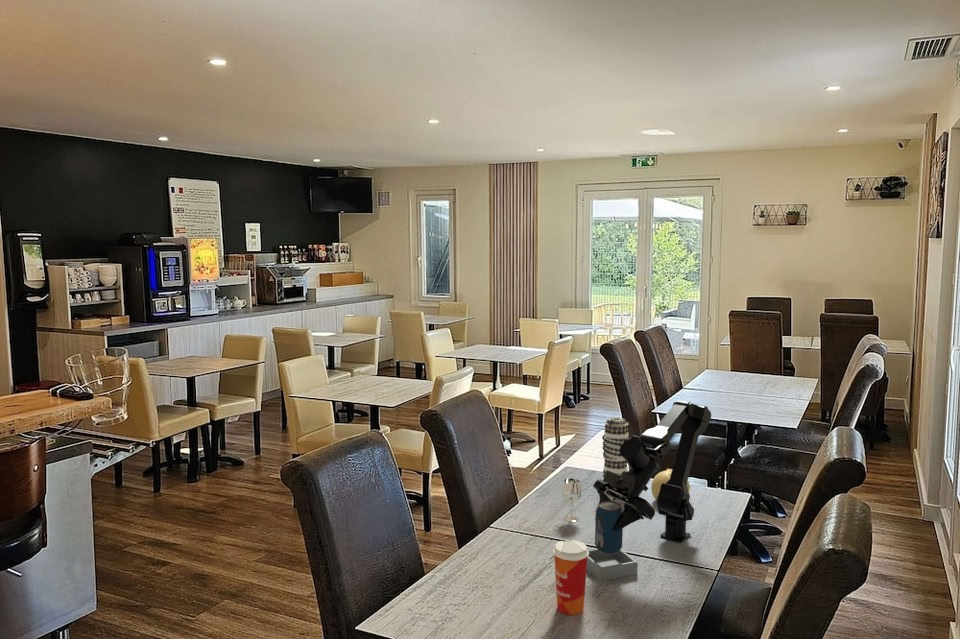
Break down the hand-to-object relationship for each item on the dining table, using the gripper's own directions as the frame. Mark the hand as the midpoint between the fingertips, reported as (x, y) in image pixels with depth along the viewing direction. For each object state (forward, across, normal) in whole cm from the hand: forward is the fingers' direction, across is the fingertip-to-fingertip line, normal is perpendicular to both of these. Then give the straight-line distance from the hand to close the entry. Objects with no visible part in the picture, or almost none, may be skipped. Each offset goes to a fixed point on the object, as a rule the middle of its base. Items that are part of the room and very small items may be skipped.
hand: (605, 525), depth 183 cm
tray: (+8, 0, +9) cm, 12 cm away
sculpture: (-26, -26, +44) cm, 57 cm away
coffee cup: (+22, +11, -6) cm, 25 cm away
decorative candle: (-20, -43, +38) cm, 61 cm away
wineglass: (0, -31, +18) cm, 36 cm away
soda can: (+4, 0, +6) cm, 7 cm away
